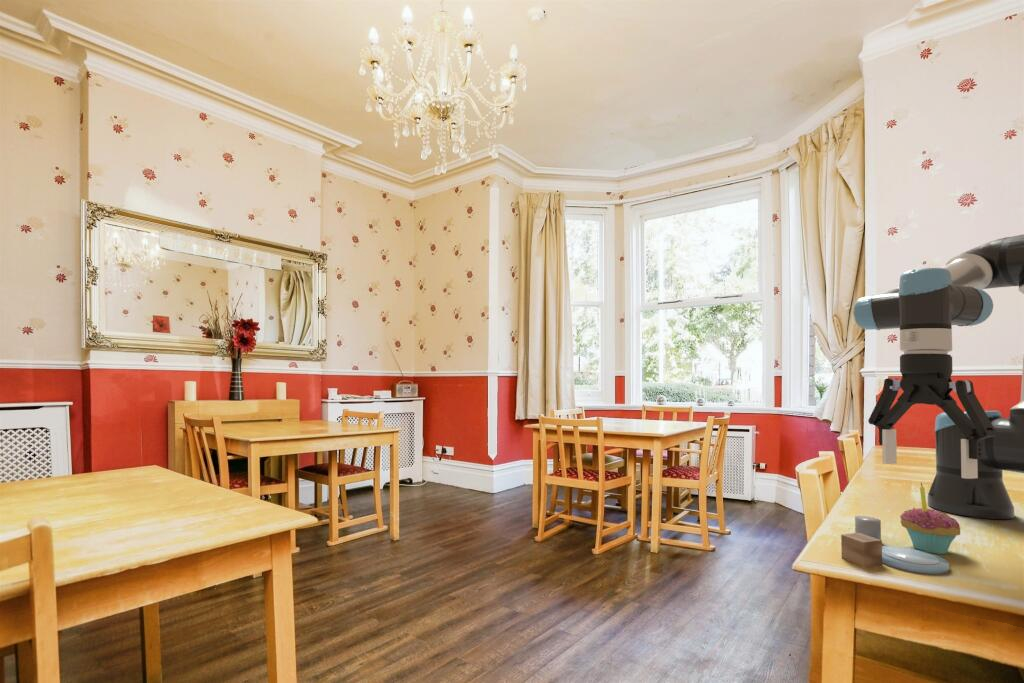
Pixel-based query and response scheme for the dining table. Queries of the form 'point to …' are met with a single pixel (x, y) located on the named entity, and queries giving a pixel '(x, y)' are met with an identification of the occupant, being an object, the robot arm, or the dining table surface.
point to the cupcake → (930, 528)
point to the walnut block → (861, 549)
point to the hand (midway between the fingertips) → (926, 470)
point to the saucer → (914, 560)
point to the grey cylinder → (868, 526)
